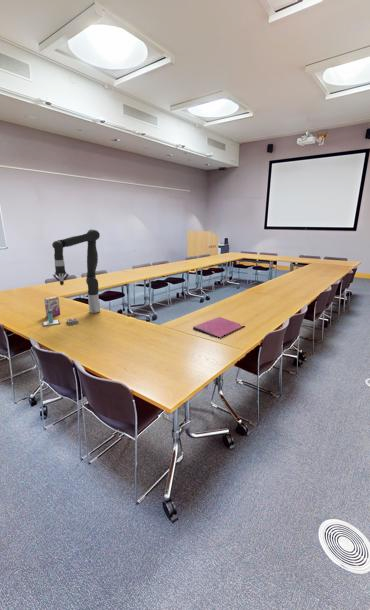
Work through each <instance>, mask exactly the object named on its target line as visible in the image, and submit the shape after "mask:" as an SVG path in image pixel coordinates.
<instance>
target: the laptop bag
mask: <svg viewBox="0 0 370 610" xmlns="http://www.w3.org/2000/svg"><path fill="white" fill-rule="evenodd" d="M240 324H241V323H238V322H236V321H232V320H230V319H226V318H223V317H222V316H221V317H220V316H218V317H215V318H213V319H210V320H207V321H205V322H202V323H199V324H197V325H194V326H193V327H192V329H193V330H195V331H197V332H200V333H204V334H206V335H208V334H209V335H208V336H210V335H211V337H213V336H215V337H214V338H217V337H219V338H220V337H222V336H224V335H225V336H227V335H229V334H231V333H233V332H235V331H237V330H239V329H241V327H242V326H241V325H240ZM242 328H243V327H242ZM232 331H233V332H232ZM230 332H231V333H230ZM228 333H229V334H228ZM226 334H227V335H226ZM225 336H224V337H225ZM219 338H218V339H219ZM222 338H223V337H222ZM220 339H221V338H220Z"/></svg>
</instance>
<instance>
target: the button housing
mask: <svg viewBox="0 0 370 610" xmlns="http://www.w3.org/2000/svg"><path fill="white" fill-rule="evenodd" d="M71 318H72V317H70V318H66V323H67V324H68V326H69V325H76V324H79V319H78V318H77V317H73V318H74V319H75V320H74V321H70V319H71Z"/></svg>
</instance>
